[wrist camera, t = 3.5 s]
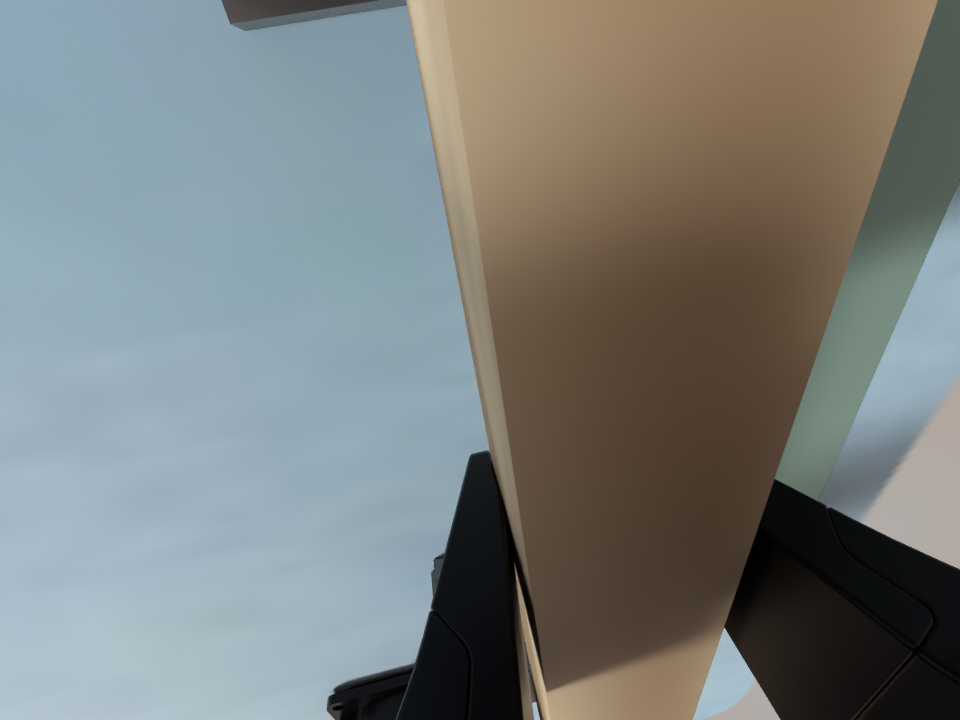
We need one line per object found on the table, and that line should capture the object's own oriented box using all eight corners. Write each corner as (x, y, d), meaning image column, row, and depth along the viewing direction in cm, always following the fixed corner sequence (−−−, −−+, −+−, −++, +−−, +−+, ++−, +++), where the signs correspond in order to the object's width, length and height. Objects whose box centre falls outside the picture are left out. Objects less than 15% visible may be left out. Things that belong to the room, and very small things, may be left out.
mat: (613, 571, 19) (619, 584, 18) (666, -582, 5) (696, -656, 5) (791, 524, 19) (802, 536, 19) (1261, -621, 6) (1343, -690, 5)
